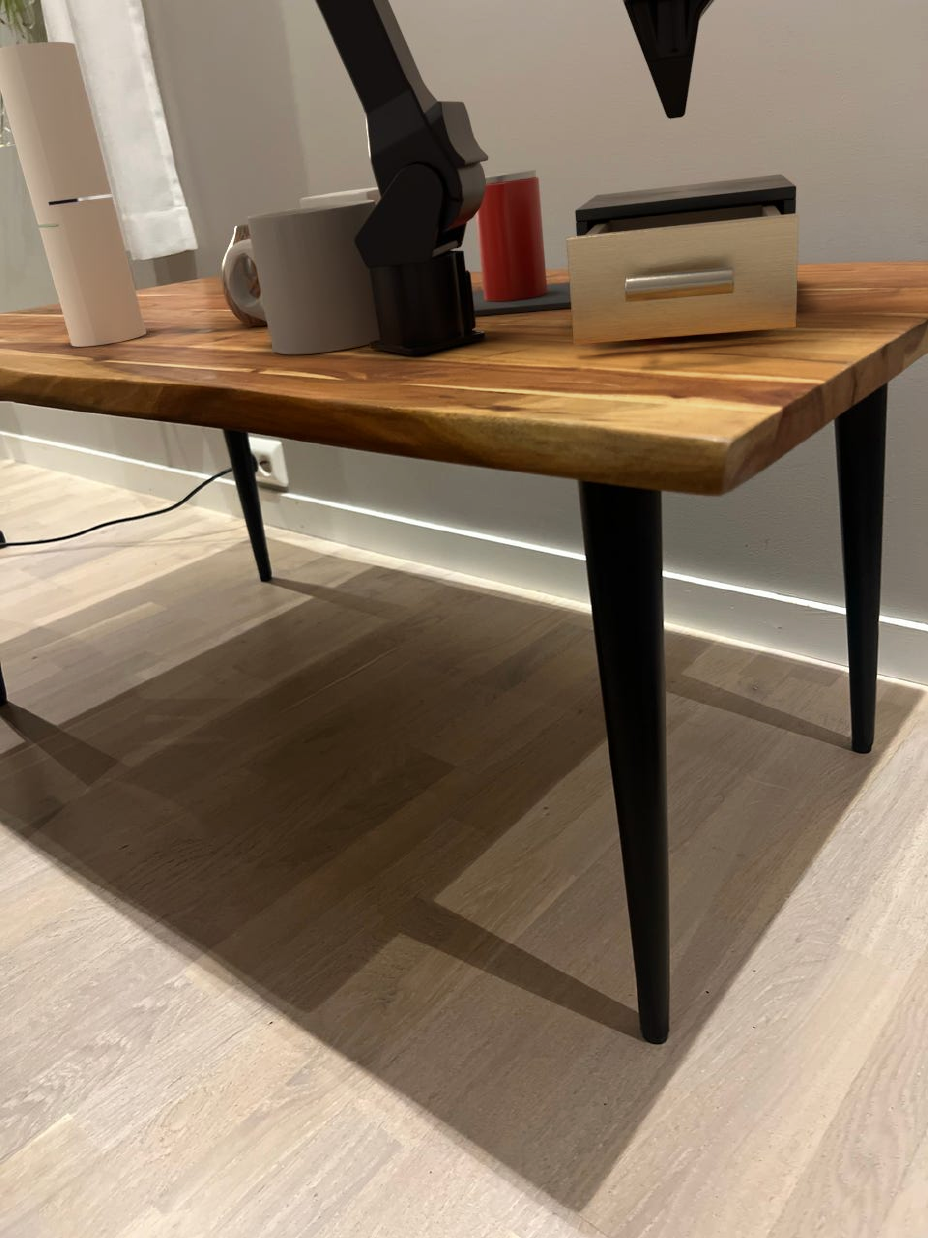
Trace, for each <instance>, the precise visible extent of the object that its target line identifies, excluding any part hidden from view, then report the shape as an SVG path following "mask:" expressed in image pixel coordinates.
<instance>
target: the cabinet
mask: <svg viewBox="0 0 928 1238" xmlns="http://www.w3.org/2000/svg"><path fill="white" fill-rule="evenodd" d="M770 202H772V203H773V204H774V205H775V207H776V208H777V209H778V211H779V212H780V213H781V215H786V214H796V213H797V185H795V184H794V183H793V182H792V181H790V179H788V178H787V177H786V176H784V175H783V174H770V175H763V176H756V177H755V176H754V177H753V176H752V177H745V178H736V179H728V180H720V181H719V180H718V181H708V182H702V183H701V182H700V183H691V184H683V185H674V186H666V187H657V188H656V187H655V188H648V189H647V188H646V189H640V190H629V191H620V192H612V193H601V194H597V195H594V196H593V197H592V198H590V199H589V200H588V201H586V202H584V203H583V204H582V205H581V206H579V207H578V208H577V209H576V210H575V212H574V214H575V227H576V228H575V229H576V230H575V232H576V236H584V235H586V234H587V233H588V232H589V231H590V230H591V229H592V228H593V227H594V226H595V225H596V224H597V223H598V222H599V221H601V220H611V219H620V218H629V217H639V216H648V215H657V214H667V213H676V212H685V211H695V210H704V209H713V208H723V207H732V206H742V205H751V204H760V203H770Z"/></svg>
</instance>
